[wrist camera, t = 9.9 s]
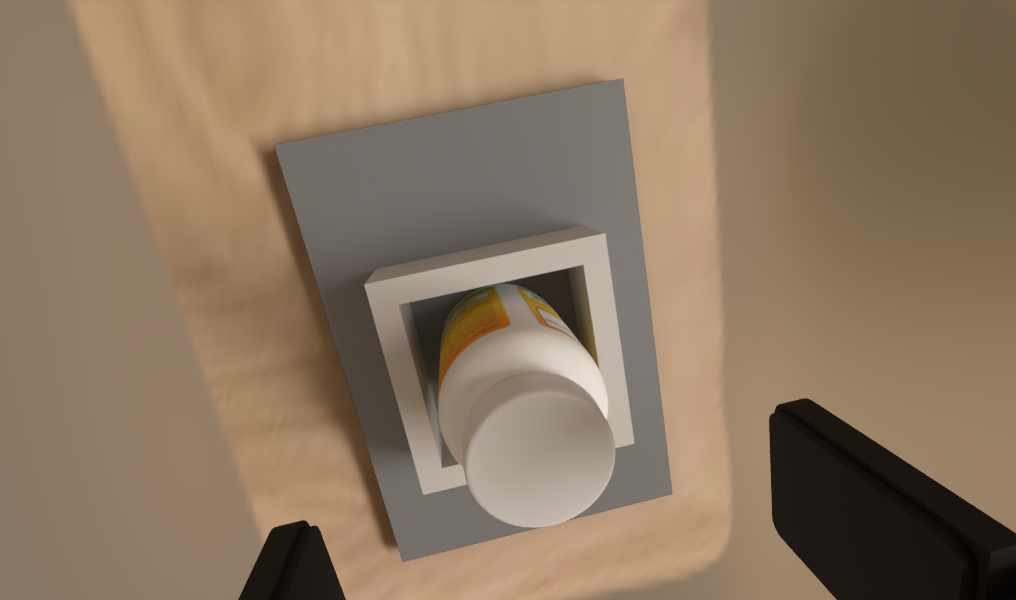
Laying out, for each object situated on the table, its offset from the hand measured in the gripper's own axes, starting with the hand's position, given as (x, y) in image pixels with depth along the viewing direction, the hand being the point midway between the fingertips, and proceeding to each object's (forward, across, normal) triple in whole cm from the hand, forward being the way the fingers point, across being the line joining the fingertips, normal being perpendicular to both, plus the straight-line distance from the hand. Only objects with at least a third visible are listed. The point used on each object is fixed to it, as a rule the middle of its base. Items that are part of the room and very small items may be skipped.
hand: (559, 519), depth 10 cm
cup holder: (+13, 0, +1) cm, 13 cm away
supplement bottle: (+12, 0, +1) cm, 13 cm away
